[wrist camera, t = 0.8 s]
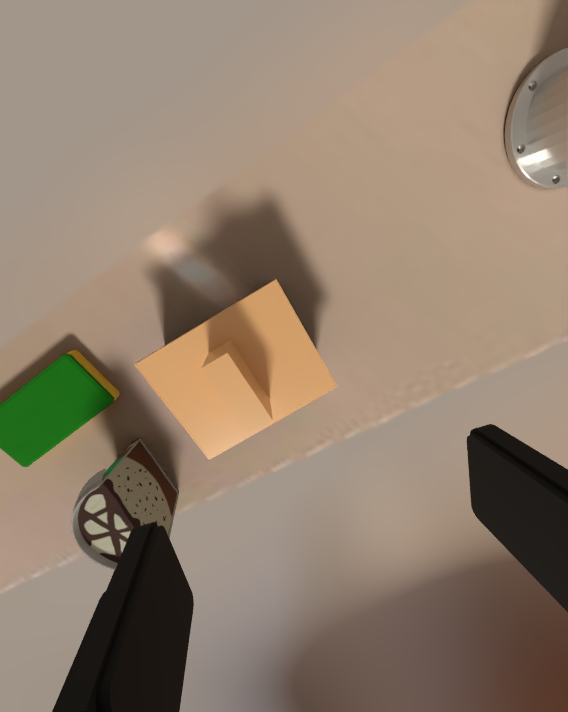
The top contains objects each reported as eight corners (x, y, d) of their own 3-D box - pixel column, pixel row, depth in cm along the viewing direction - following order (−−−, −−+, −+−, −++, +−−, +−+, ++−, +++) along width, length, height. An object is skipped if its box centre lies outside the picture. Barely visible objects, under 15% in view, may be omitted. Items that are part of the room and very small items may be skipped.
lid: (274, 278, 30) (280, 282, 24) (332, 379, 33) (351, 406, 27) (141, 358, 31) (113, 382, 25) (211, 448, 34) (202, 490, 28)
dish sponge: (-11, 416, 37) (-28, 426, 35) (77, 347, 36) (65, 352, 34) (38, 457, 39) (24, 469, 37) (123, 393, 38) (114, 401, 36)
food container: (89, 449, 39) (36, 509, 30) (133, 428, 39) (95, 482, 29) (144, 519, 43) (113, 593, 33) (184, 500, 43) (165, 569, 33)
